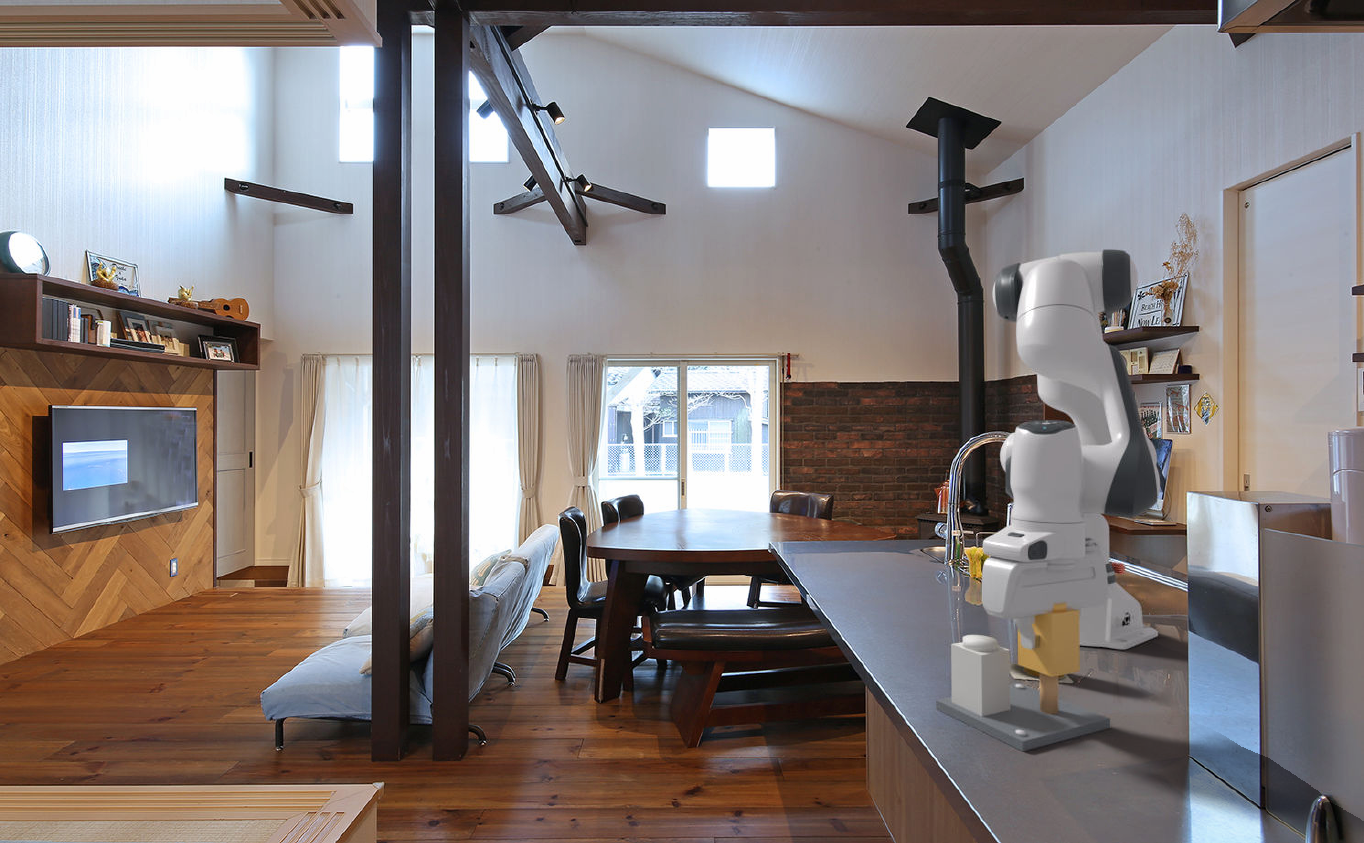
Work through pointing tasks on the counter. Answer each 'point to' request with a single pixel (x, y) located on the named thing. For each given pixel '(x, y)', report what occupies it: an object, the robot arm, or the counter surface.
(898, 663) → the counter surface
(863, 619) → the counter surface
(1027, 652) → the yellow knob block
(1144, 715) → the counter surface
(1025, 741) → the plate
